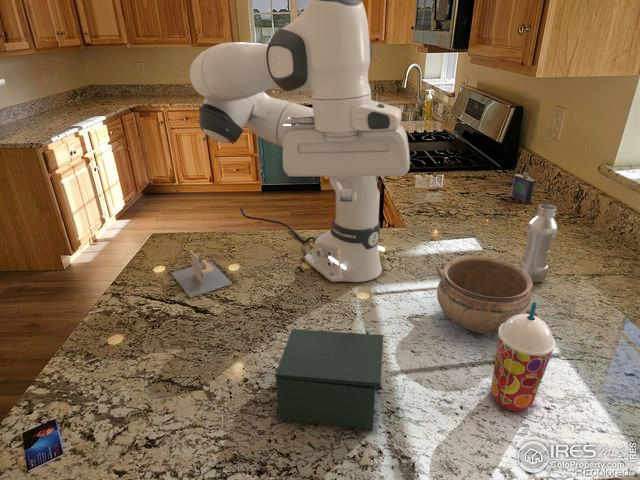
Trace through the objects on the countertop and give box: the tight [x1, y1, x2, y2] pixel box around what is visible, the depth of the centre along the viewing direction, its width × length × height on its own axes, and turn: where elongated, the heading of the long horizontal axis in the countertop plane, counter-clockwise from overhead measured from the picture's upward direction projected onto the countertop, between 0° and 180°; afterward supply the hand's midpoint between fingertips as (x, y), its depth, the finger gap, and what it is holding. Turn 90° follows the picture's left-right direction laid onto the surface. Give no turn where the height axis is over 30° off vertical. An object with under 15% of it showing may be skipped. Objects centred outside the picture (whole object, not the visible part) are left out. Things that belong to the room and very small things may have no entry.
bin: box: [275, 377, 376, 431], centre depth 73 cm, size 16×12×9 cm
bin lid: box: [275, 328, 384, 388], centre depth 71 cm, size 16×12×1 cm
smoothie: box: [490, 301, 556, 413], centre depth 70 cm, size 8×8×20 cm
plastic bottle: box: [518, 204, 558, 283], centre depth 106 cm, size 6×7×20 cm
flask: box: [509, 172, 535, 205], centre depth 160 cm, size 9×3×11 cm, turn 21°
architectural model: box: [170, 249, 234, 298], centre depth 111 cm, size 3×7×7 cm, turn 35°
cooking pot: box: [436, 255, 542, 335], centre depth 91 cm, size 25×19×12 cm
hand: (347, 200), depth 70 cm, fingers closed
